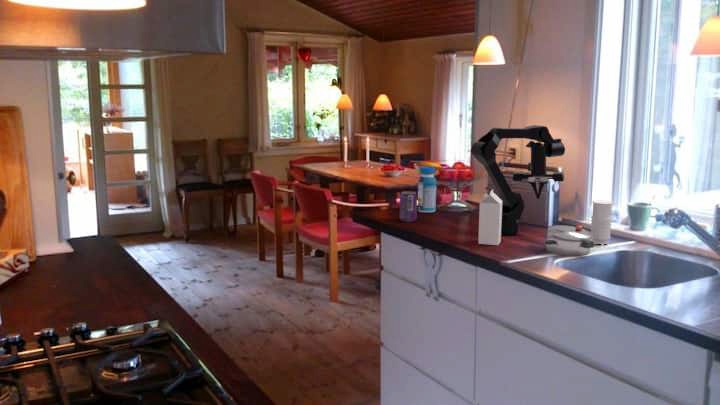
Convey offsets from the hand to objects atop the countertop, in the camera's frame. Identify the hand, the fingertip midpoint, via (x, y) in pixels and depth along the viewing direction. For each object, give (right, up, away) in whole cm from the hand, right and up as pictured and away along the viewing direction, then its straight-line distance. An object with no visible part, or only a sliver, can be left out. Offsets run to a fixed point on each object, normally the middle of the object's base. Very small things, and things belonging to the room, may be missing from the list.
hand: (538, 198), depth 248 cm
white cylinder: (+17, -16, -17) cm, 29 cm away
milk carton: (-22, -16, -17) cm, 32 cm away
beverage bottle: (-39, -6, +43) cm, 58 cm away
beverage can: (-49, -9, +22) cm, 54 cm away
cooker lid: (+2, -12, -29) cm, 32 cm away
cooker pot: (+3, -18, -29) cm, 34 cm away
